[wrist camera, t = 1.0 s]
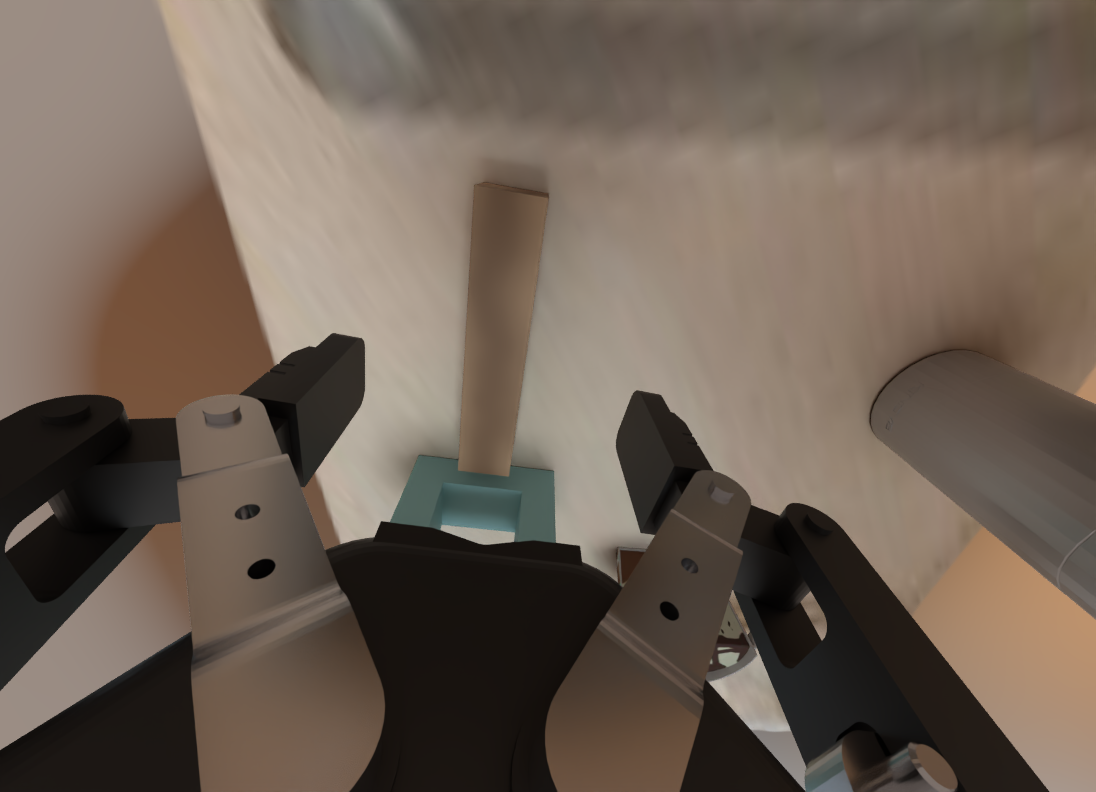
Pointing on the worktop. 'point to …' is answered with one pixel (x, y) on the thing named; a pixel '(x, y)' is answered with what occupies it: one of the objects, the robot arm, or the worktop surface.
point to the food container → (732, 640)
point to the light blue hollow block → (479, 499)
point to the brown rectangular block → (498, 321)
